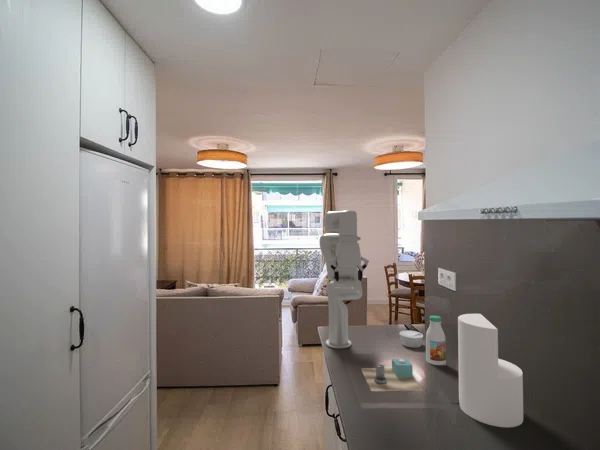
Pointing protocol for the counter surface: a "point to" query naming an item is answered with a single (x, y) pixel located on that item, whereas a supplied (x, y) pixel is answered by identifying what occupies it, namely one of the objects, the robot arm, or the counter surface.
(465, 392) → the white stepped round block
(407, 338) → the ramekin
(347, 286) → the robot arm
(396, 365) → the teal knob cube
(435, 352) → the milk bottle
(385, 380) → the stud
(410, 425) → the counter surface
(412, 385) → the board
